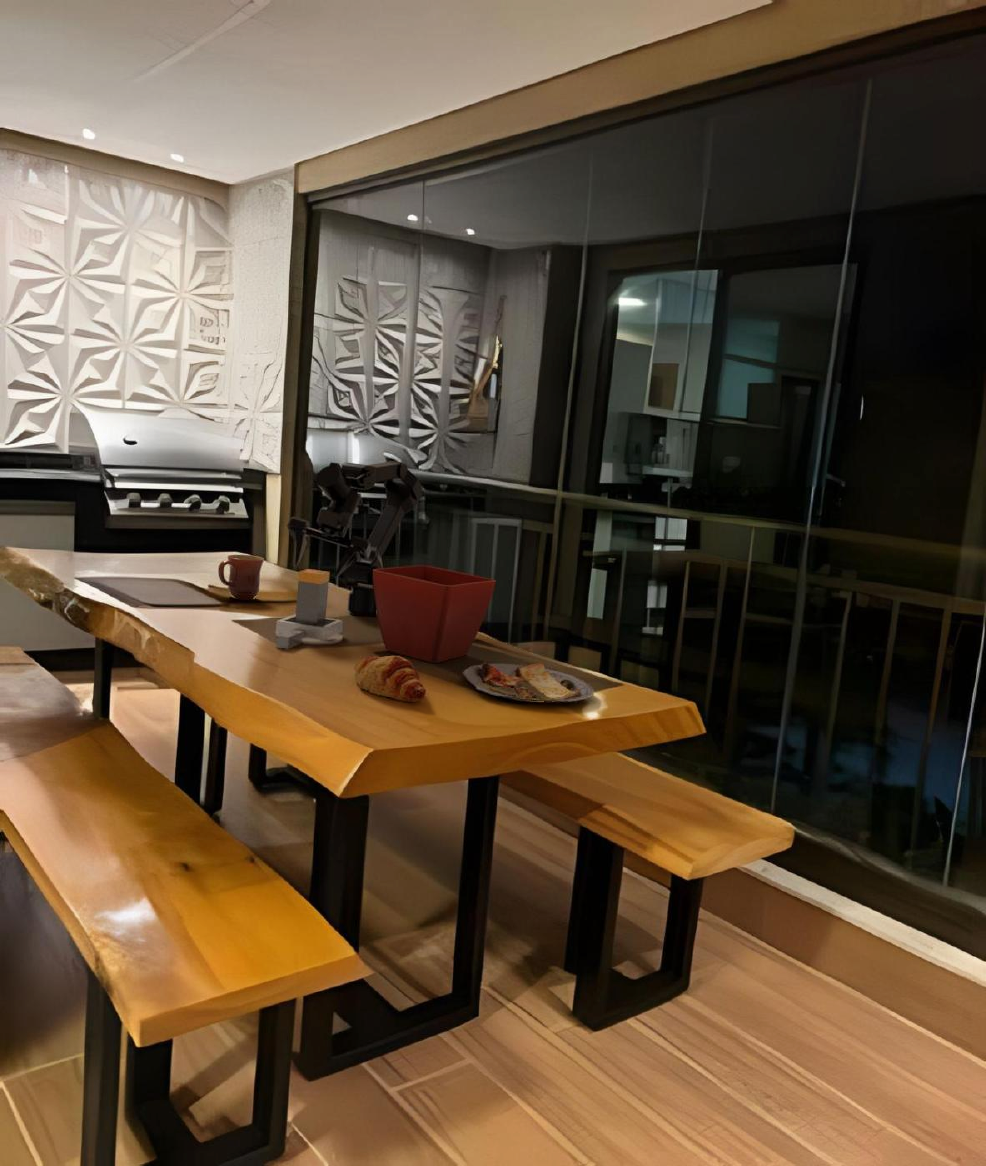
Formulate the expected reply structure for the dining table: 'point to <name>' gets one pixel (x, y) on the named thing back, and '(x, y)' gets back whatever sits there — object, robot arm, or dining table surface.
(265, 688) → the dining table surface
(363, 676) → the croissant
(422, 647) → the plant pot
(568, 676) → the food plate
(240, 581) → the mug
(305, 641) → the square socket
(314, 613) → the orange square peg
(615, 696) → the dining table surface
